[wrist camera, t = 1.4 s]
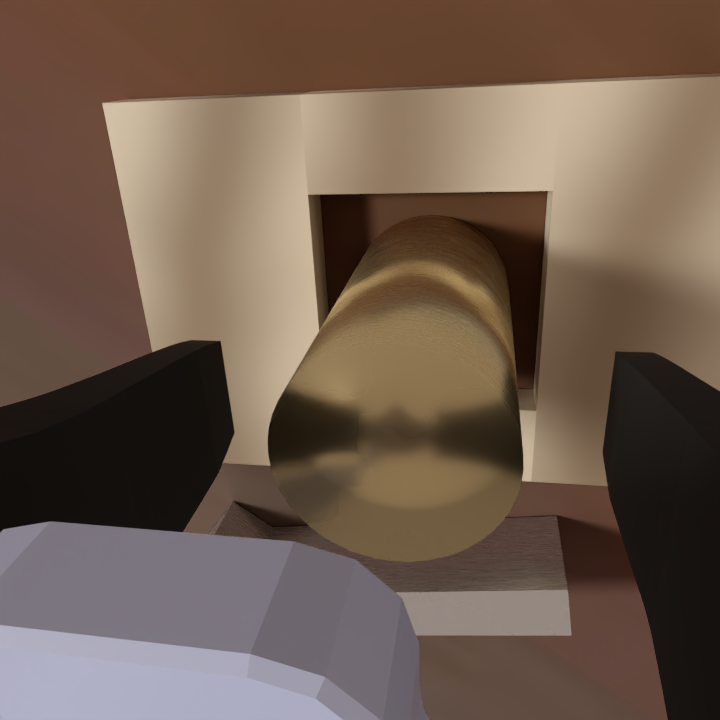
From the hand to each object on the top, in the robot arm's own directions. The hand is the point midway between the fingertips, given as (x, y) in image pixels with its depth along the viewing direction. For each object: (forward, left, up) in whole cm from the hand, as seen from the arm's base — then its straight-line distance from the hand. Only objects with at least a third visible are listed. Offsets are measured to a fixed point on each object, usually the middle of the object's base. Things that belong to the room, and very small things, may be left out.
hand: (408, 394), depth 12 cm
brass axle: (0, 0, -6) cm, 6 cm away
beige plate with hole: (0, 0, -6) cm, 6 cm away
